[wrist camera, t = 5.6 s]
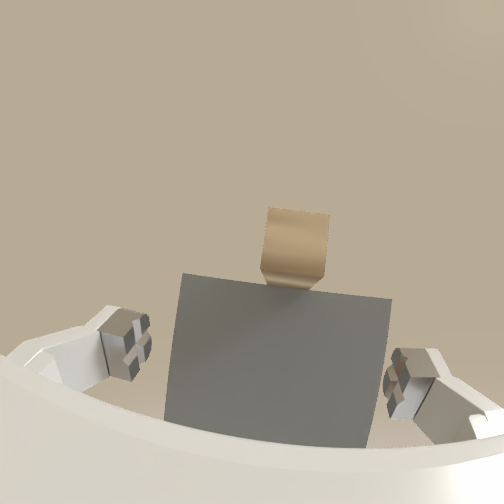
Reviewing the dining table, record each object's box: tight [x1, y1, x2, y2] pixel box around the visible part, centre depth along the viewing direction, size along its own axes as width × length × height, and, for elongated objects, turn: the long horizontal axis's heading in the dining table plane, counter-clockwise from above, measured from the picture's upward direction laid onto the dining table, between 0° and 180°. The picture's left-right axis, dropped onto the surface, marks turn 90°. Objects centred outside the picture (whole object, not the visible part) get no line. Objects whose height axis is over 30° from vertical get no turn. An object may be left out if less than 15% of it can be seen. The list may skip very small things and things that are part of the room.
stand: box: [164, 273, 392, 448], centre depth 26 cm, size 12×16×30 cm
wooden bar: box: [260, 208, 330, 290], centre depth 25 cm, size 20×3×3 cm, turn 175°
